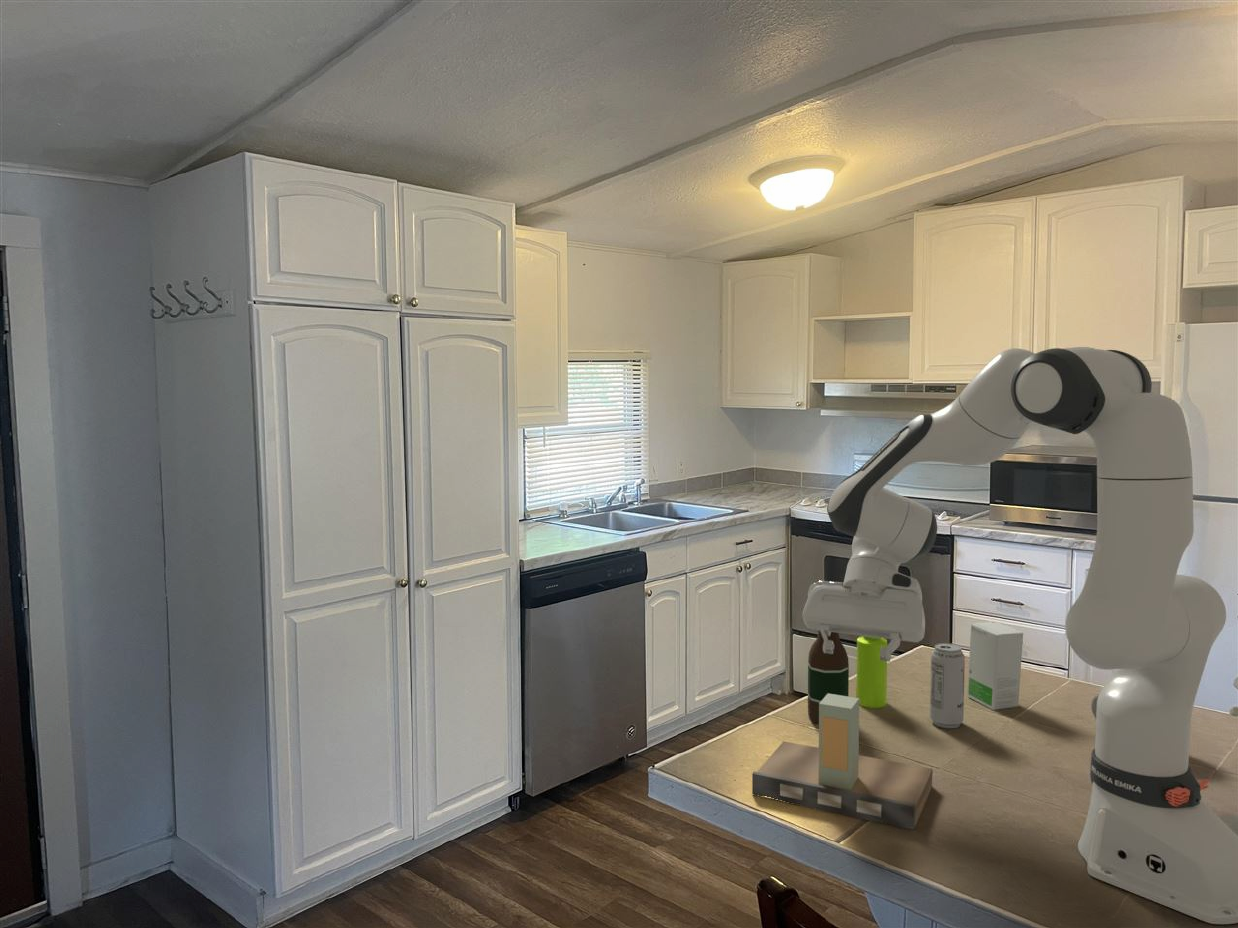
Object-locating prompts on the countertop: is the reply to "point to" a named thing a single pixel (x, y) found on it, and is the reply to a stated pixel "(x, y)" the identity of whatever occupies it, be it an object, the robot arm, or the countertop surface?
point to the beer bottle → (826, 673)
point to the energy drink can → (947, 685)
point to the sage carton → (838, 741)
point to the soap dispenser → (871, 672)
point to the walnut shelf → (874, 796)
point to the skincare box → (995, 665)
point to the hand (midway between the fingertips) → (855, 655)
